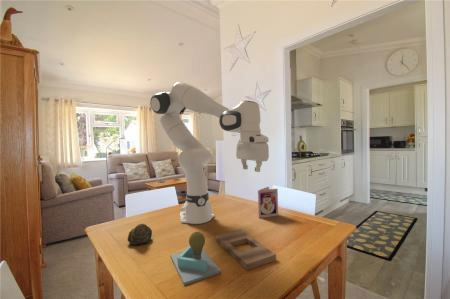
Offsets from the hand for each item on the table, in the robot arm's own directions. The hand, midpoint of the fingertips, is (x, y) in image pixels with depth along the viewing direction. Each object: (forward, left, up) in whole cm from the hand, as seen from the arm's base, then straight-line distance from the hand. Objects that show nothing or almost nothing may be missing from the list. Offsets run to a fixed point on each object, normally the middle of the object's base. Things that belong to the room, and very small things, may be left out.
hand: (251, 170), depth 94 cm
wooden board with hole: (+8, -10, -29) cm, 32 cm away
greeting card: (-18, +21, -29) cm, 40 cm away
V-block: (+8, -30, -29) cm, 42 cm away
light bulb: (+8, -28, -28) cm, 41 cm away
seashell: (-22, -44, -29) cm, 57 cm away
